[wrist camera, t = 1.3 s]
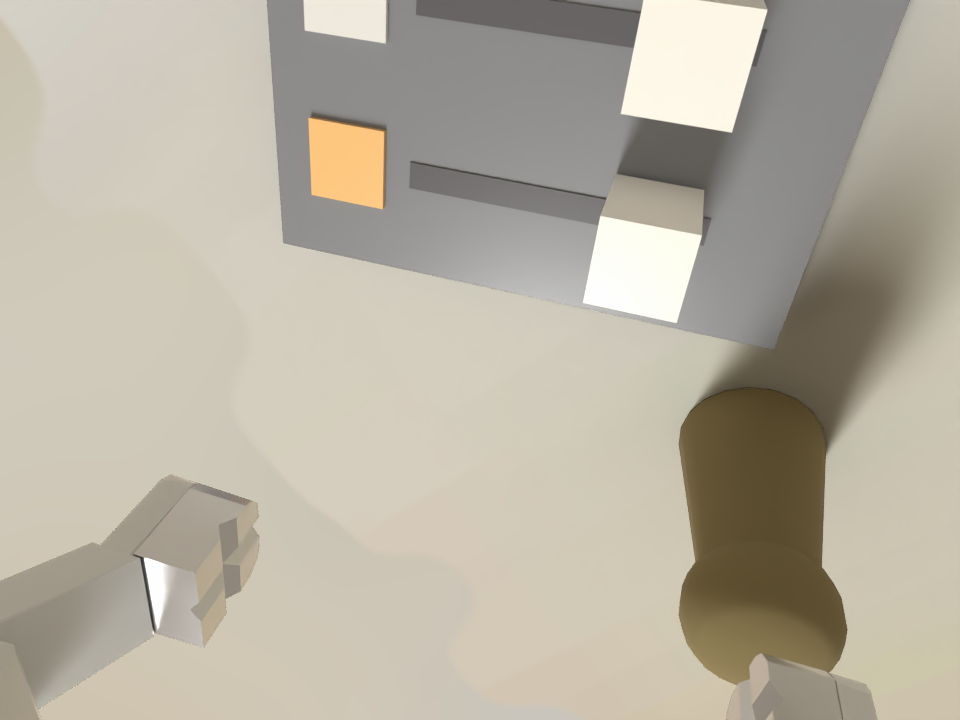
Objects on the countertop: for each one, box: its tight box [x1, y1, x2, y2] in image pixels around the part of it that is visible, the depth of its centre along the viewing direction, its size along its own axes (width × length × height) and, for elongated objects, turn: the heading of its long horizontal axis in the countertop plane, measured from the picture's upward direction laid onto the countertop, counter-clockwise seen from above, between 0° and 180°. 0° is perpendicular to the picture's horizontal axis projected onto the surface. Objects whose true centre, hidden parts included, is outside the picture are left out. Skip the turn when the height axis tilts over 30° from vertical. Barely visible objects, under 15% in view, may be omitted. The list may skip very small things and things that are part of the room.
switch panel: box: [267, 0, 910, 350], centre depth 23 cm, size 20×20×2 cm
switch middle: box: [621, 0, 768, 133], centre depth 20 cm, size 3×3×4 cm
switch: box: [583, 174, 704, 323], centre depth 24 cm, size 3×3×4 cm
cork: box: [679, 388, 847, 685], centre depth 27 cm, size 6×6×11 cm
